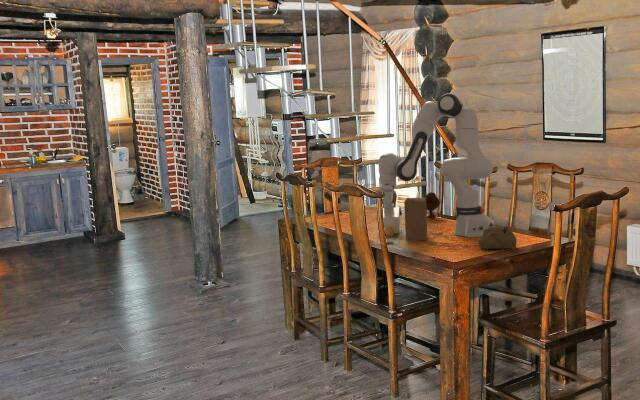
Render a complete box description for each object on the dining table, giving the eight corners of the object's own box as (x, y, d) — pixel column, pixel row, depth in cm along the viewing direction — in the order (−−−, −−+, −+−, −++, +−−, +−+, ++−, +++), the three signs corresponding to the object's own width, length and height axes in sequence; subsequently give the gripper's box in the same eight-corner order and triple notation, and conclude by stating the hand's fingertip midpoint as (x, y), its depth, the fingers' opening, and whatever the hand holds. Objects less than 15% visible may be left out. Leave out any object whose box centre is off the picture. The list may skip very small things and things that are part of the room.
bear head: (470, 248, 323) (472, 223, 322) (501, 245, 331) (502, 221, 330) (490, 253, 311) (491, 227, 310) (521, 251, 319) (522, 225, 318)
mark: (398, 238, 353) (398, 238, 353) (397, 244, 341) (397, 243, 341) (379, 239, 354) (379, 238, 354) (377, 244, 343) (377, 244, 343)
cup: (380, 223, 376) (379, 200, 372) (399, 222, 375) (398, 199, 371) (379, 233, 362) (378, 209, 358) (399, 232, 360) (398, 208, 356)
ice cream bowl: (443, 216, 403) (442, 190, 401) (435, 219, 394) (435, 193, 392) (426, 215, 409) (425, 190, 406) (418, 218, 400) (417, 193, 397)
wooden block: (425, 240, 345) (424, 200, 342) (405, 240, 347) (404, 201, 344) (427, 236, 355) (426, 197, 351) (407, 236, 357) (406, 197, 354)
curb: (393, 244, 342) (393, 241, 342) (393, 244, 341) (393, 241, 341) (381, 244, 343) (381, 241, 343) (381, 244, 342) (381, 242, 342)
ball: (394, 230, 361) (393, 225, 357) (394, 238, 358) (393, 233, 354) (384, 230, 362) (383, 225, 358) (384, 238, 359) (383, 233, 355)
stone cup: (381, 217, 411) (380, 192, 408) (375, 214, 422) (374, 189, 420) (406, 215, 414) (405, 190, 411) (399, 211, 425) (398, 187, 423)
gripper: (383, 181, 372) (384, 207, 375) (380, 187, 352) (381, 214, 355) (395, 181, 371) (395, 207, 374) (392, 187, 351) (393, 214, 354)
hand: (388, 210), depth 364 cm, fingers open, 6 cm apart
